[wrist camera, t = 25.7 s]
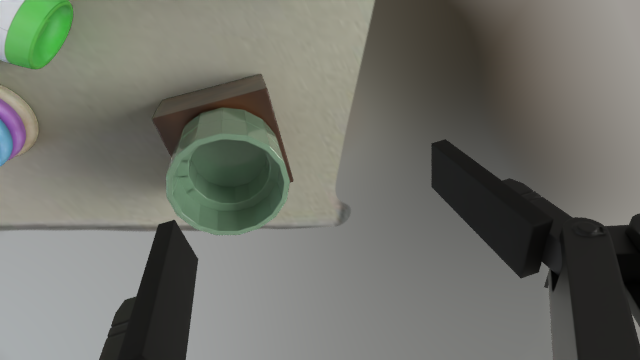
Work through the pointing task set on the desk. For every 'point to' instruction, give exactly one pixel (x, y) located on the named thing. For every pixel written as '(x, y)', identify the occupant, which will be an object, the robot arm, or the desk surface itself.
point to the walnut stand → (229, 95)
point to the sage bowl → (227, 173)
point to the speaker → (33, 30)
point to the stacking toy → (15, 125)
